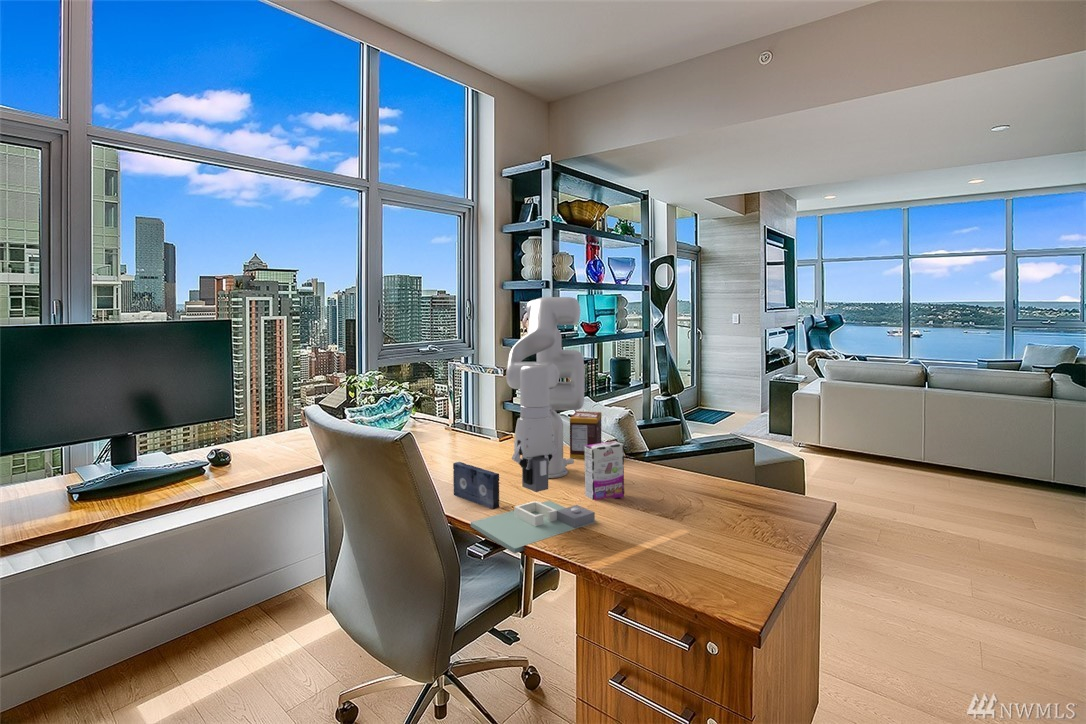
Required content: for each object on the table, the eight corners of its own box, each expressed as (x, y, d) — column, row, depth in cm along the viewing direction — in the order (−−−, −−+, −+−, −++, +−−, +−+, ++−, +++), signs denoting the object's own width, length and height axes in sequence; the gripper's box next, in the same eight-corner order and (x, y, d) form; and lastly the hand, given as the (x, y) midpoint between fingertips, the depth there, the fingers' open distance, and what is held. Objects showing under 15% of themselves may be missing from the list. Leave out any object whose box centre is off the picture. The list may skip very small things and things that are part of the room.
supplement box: (601, 449, 217) (601, 411, 216) (596, 460, 202) (596, 418, 201) (576, 448, 220) (576, 410, 218) (569, 458, 205) (569, 417, 203)
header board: (549, 504, 155) (549, 492, 155) (597, 525, 140) (597, 512, 139) (470, 526, 140) (470, 512, 139) (514, 553, 124) (514, 538, 124)
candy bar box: (614, 492, 165) (615, 440, 164) (624, 497, 161) (625, 443, 159) (583, 498, 160) (583, 444, 159) (592, 504, 156) (593, 448, 154)
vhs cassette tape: (500, 507, 154) (499, 473, 153) (492, 510, 151) (491, 475, 151) (461, 492, 166) (460, 461, 166) (453, 495, 164) (452, 463, 163)
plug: (534, 483, 145) (534, 454, 144) (550, 489, 139) (549, 459, 139) (522, 486, 142) (522, 456, 142) (537, 492, 137) (537, 461, 136)
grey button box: (576, 513, 145) (576, 502, 145) (594, 521, 140) (594, 510, 139) (556, 519, 141) (556, 508, 141) (574, 528, 135) (574, 516, 135)
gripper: (551, 407, 148) (551, 473, 149) (499, 414, 138) (500, 484, 139) (568, 411, 142) (568, 479, 143) (516, 418, 132) (517, 491, 133)
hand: (535, 481), depth 141 cm, fingers closed on plug, 4 cm apart
